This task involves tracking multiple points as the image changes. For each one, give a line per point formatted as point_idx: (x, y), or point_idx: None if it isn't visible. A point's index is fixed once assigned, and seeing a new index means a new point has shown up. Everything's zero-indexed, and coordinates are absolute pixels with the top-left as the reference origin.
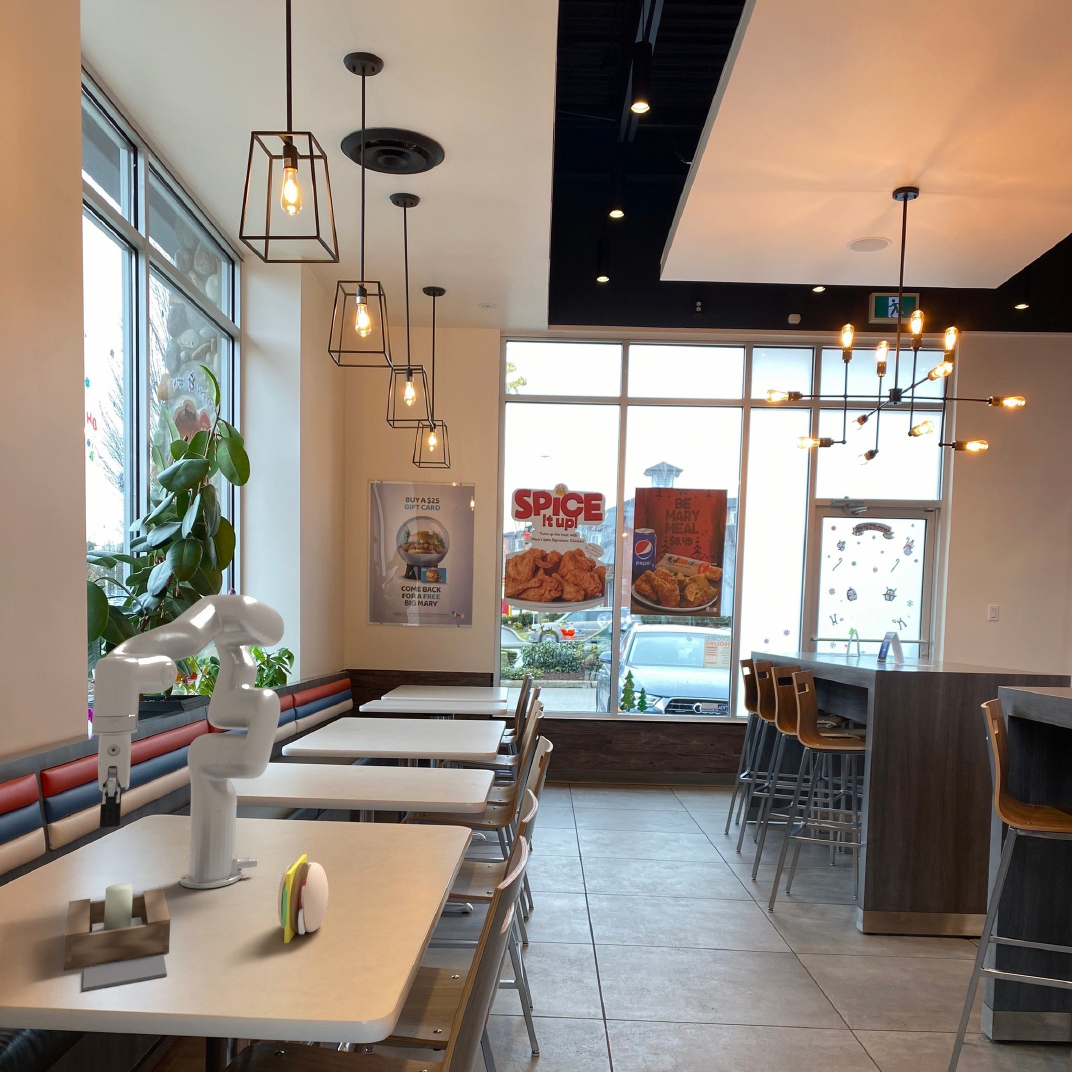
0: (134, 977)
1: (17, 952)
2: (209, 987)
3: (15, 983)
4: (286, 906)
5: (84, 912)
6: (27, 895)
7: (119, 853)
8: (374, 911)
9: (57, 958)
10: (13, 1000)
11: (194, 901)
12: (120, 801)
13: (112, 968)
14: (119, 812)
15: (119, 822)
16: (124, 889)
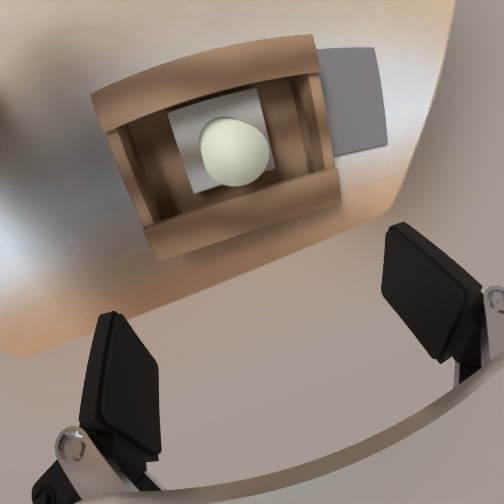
0: (377, 86)
1: (232, 269)
2: (405, 10)
3: (337, 228)
4: None
5: (230, 209)
6: (37, 336)
7: None
8: None
9: None
10: (379, 212)
11: (31, 75)
12: (103, 366)
13: (342, 117)
14: (443, 258)
15: (411, 228)
16: (257, 137)
